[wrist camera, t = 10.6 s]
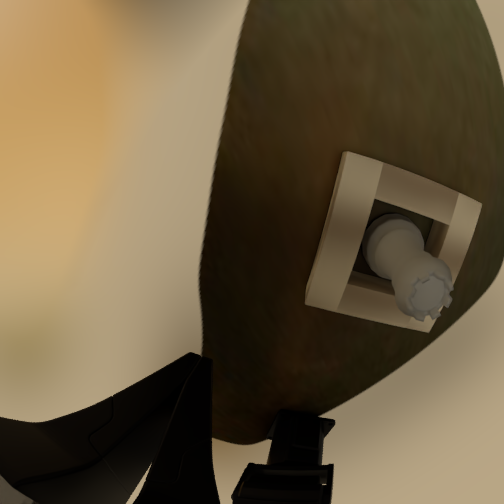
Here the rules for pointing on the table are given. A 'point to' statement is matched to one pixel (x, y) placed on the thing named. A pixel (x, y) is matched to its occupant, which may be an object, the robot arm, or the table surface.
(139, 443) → the robot arm
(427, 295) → the rook chess piece
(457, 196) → the socket collar
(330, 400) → the table surface
